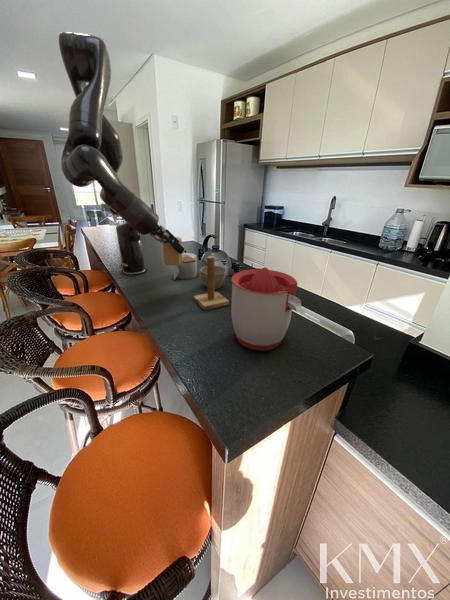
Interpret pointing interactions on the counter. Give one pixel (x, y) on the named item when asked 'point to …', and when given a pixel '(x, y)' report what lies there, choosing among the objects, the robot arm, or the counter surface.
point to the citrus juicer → (262, 307)
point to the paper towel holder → (211, 290)
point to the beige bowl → (219, 275)
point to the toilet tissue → (186, 268)
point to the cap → (174, 255)
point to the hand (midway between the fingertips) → (177, 249)
